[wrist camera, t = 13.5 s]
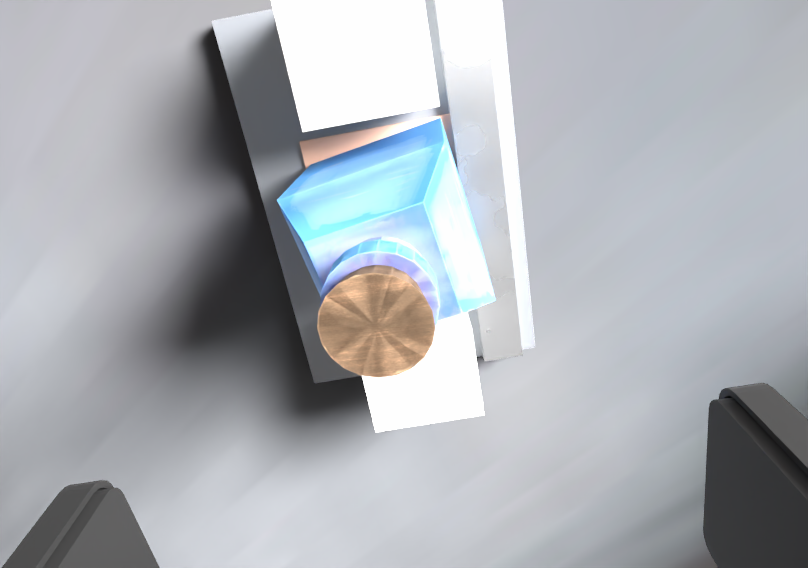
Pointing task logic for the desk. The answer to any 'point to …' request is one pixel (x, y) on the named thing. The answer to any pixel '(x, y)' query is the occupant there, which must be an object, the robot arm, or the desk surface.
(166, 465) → the desk surface
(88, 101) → the desk surface
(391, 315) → the perfume bottle
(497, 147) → the module rail
